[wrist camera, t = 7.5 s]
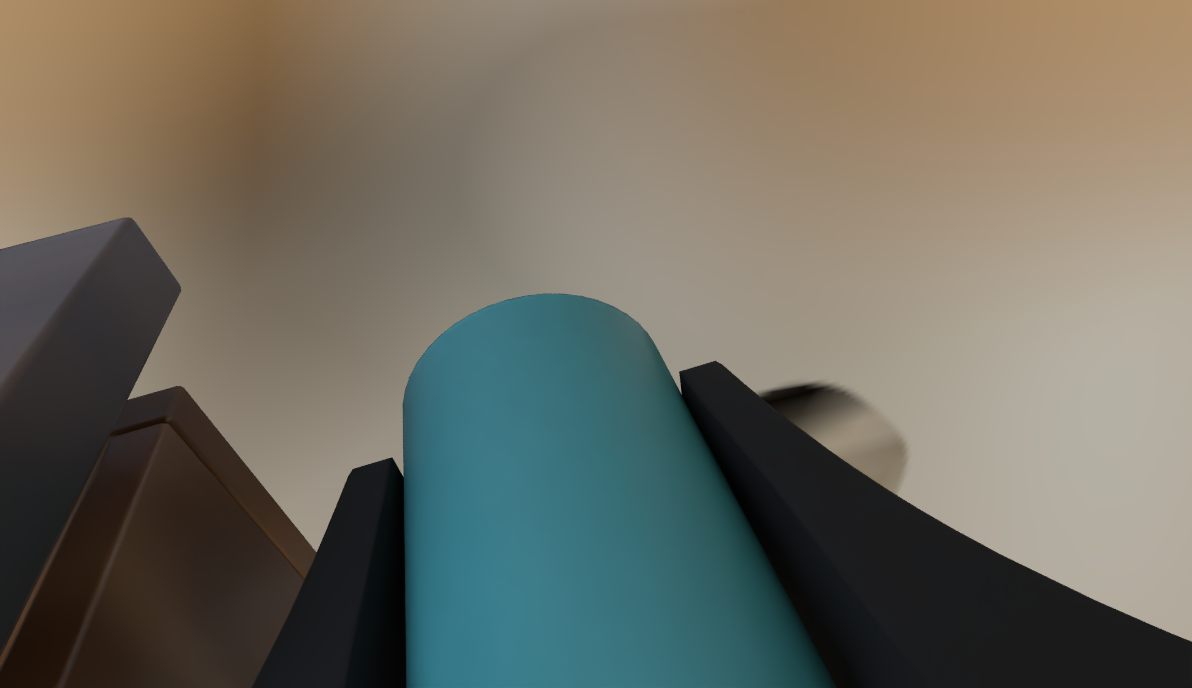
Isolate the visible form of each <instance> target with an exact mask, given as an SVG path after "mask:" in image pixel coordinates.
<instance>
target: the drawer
mask: <svg viewBox="0 0 1192 688" xmlns="http://www.w3.org/2000/svg"><path fill="white" fill-rule="evenodd" d="M180 292H181V287H180V285H179V283H178V282H177V280H176V279H175V277H174V276H173V275H172V273H171V272H170V271H169V269H168V268H167V266H166V265H165V263H164V262H163V261H162V259H161V258H160V256H159V255H158V253H157V252H156V251H155V249H154V248H153V246H152V245H151V244H150V242H149V241H148V239H147V238H146V237H145V235H144V234H143V232H142V231H141V229H140V228H139V227H138V225H137V224H136V222H135V221H134V220H133V219H132V218H121V219H117V220H113V221H109V222H106V223H102V224H98V225H94V226H90V227H86V228H82V229H78V230H74V231H71V232H66V233H62V234H59V235H55V236H51V237H47V238H43V239H39V240H35V241H31V242H27V243H23V244H19V245H15V246H12V247H8V248H4V249H0V688H251V687H252V685H253V684H254V682H255V680H256V678H257V676H258V674H259V672H260V670H261V668H262V666H263V664H264V662H265V660H266V658H267V656H268V654H269V652H270V650H271V648H272V647H273V645H274V643H275V641H276V639H277V637H278V635H279V633H280V631H281V629H282V627H283V625H284V623H285V621H286V619H287V617H288V615H289V613H290V610H291V608H292V606H293V604H294V602H295V600H296V597H297V595H298V593H299V591H300V589H301V586H302V584H303V582H304V580H305V578H306V575H307V573H308V571H309V569H310V567H311V565H312V562H313V560H314V558H315V556H316V551H315V550H314V549H313V548H312V546H311V545H310V544H309V543H308V542H307V540H306V539H305V538H304V536H303V535H302V534H301V533H300V531H299V530H298V529H297V528H296V527H295V525H294V524H293V523H292V522H291V520H290V519H289V518H288V517H287V515H286V514H285V513H284V512H283V510H282V509H281V508H280V507H279V505H278V504H277V503H276V502H275V500H274V499H273V498H272V497H271V495H270V494H269V493H268V492H267V491H266V489H265V488H264V487H263V486H262V484H261V483H260V482H259V481H258V479H257V478H256V477H255V476H254V474H253V473H252V472H251V471H250V469H249V468H248V467H247V466H246V465H245V463H244V462H243V461H242V460H241V458H240V457H239V456H238V455H237V453H236V452H235V451H234V450H233V448H232V447H231V446H230V445H229V443H228V442H227V441H226V440H225V438H224V437H223V436H222V435H221V433H220V432H219V431H218V430H217V428H216V427H215V426H214V425H213V424H212V422H211V421H210V420H209V419H208V417H207V416H206V415H205V414H204V412H203V411H202V410H201V409H200V407H199V406H198V405H197V404H196V402H195V401H194V400H193V399H192V398H191V396H190V395H189V394H188V392H187V391H186V390H185V389H184V388H183V387H181V386H176V387H172V388H169V389H165V390H161V391H158V392H154V393H151V394H147V395H144V396H140V397H137V398H133V399H129V400H127V399H128V397H129V395H130V393H131V391H132V389H133V387H134V385H135V383H136V381H137V379H138V377H139V375H140V373H141V371H142V369H143V367H144V365H145V363H146V361H147V359H148V357H149V355H150V352H151V351H152V349H153V346H154V344H155V342H156V340H157V338H158V336H159V334H160V332H161V330H162V328H163V326H164V324H165V322H166V320H167V318H168V316H169V314H170V312H171V310H172V308H173V306H174V304H175V302H176V300H177V298H178V296H179V293H180Z"/></svg>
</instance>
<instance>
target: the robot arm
mask: <svg viewBox="0 0 1192 688" xmlns="http://www.w3.org/2000/svg"><path fill="white" fill-rule="evenodd" d="M679 373H680V382H681V392H682V396H683V398H684V400H685V402H686V404H687V406H688V408H689V410H690V412H691V413H692V415H693V417H694V419H695V421H696V423H697V425H698V427H699V429H700V430H701V432H702V434H703V436H704V438H705V440H706V442H707V444H708V446H709V447H710V449H711V451H712V453H713V455H714V457H715V459H716V461H717V463H718V464H719V466H720V468H721V470H722V472H723V474H724V476H725V478H726V480H727V481H728V483H729V485H730V487H731V489H732V491H733V493H734V495H735V496H736V498H737V500H738V502H739V504H740V506H741V508H742V510H743V512H744V513H745V515H746V517H747V519H748V521H749V523H750V525H751V527H752V529H753V530H754V532H755V534H756V536H757V538H758V540H759V542H760V544H761V546H762V547H763V549H764V551H765V553H766V555H767V557H768V559H769V561H770V563H771V564H772V566H773V568H774V570H775V572H776V574H777V576H778V578H779V580H780V581H781V583H782V585H783V587H784V589H785V591H786V593H787V595H788V597H789V598H790V600H791V602H792V604H793V606H794V608H795V610H796V612H797V613H798V615H799V617H800V619H801V621H802V623H803V625H804V627H805V629H806V630H807V632H808V634H809V636H810V638H811V640H812V642H813V644H814V646H815V647H816V649H817V651H818V653H819V655H820V657H821V659H822V661H823V663H824V664H825V666H826V668H827V670H828V672H829V674H830V676H831V678H832V680H833V681H834V683H835V685H836V687H837V688H1192V642H1191V641H1189V640H1186V639H1183V638H1181V637H1179V636H1176V635H1174V634H1171V633H1169V632H1166V631H1164V630H1162V629H1159V628H1157V627H1155V626H1153V625H1150V624H1148V623H1146V622H1143V621H1141V620H1139V619H1137V618H1134V617H1132V616H1130V615H1128V614H1125V613H1123V612H1121V611H1118V610H1116V609H1114V608H1111V607H1109V606H1107V605H1105V604H1102V603H1100V602H1098V601H1095V600H1093V599H1091V598H1089V597H1087V596H1085V595H1083V594H1081V593H1079V592H1077V591H1075V590H1073V589H1071V588H1069V587H1067V586H1064V585H1062V584H1060V583H1058V582H1056V581H1054V580H1052V579H1050V578H1048V577H1046V576H1044V575H1042V574H1040V573H1038V572H1036V571H1033V570H1031V569H1029V568H1027V567H1025V566H1023V565H1021V564H1019V563H1017V562H1015V561H1013V560H1011V559H1008V558H1007V557H1004V556H1003V555H1001V554H999V553H997V552H995V551H993V550H991V549H989V548H988V547H986V546H984V545H982V544H980V543H978V542H977V541H975V540H973V539H971V538H969V537H967V536H965V535H964V534H961V533H960V532H958V531H956V530H954V529H953V528H951V527H949V526H947V525H946V524H943V523H942V522H940V521H939V520H937V519H935V518H934V517H932V516H930V515H928V514H927V513H925V512H923V511H921V510H920V509H918V508H916V507H915V506H913V505H911V504H910V503H908V502H907V501H905V500H903V499H902V498H900V497H898V496H897V495H895V494H894V493H892V492H891V491H889V490H887V489H886V488H884V487H883V486H881V485H880V484H878V483H877V482H875V481H874V480H872V479H871V478H869V477H868V476H866V475H865V474H863V473H862V472H860V471H859V470H857V469H856V468H854V467H853V466H851V465H850V464H848V463H847V462H845V461H844V460H843V459H841V458H840V457H838V456H837V455H835V454H834V453H833V452H831V451H830V450H828V449H827V448H826V447H824V446H823V445H822V444H820V443H819V442H818V441H816V440H815V439H814V438H812V437H811V436H809V435H808V434H807V433H805V432H804V431H803V430H801V429H800V428H799V427H797V426H796V425H795V424H793V423H792V422H791V421H790V420H788V419H787V418H786V417H784V416H783V415H782V414H781V413H779V412H778V411H777V410H776V409H774V408H773V407H772V406H771V405H769V404H768V403H767V402H766V401H764V400H763V399H762V398H761V397H759V396H758V395H757V394H756V393H755V392H753V391H752V390H751V389H750V388H749V387H747V386H746V385H745V384H744V383H743V382H741V381H740V380H739V379H738V378H737V377H736V376H735V375H733V374H732V373H731V372H730V371H729V370H728V369H727V368H725V367H724V366H723V365H722V364H720V363H718V362H717V361H713V362H710V363H707V364H703V365H700V366H697V367H694V368H690V369H687V370H683V371H680V372H679ZM251 688H406V618H405V539H404V477H403V475H402V474H401V472H400V470H399V468H398V467H397V465H396V463H395V461H394V460H393V458H388V459H385V460H382V461H378V462H375V463H372V464H368V465H365V466H361V467H358V468H355V469H353V470H352V471H351V473H350V475H349V476H348V478H347V481H346V483H345V486H344V488H343V491H342V493H341V496H340V498H339V501H338V503H337V506H336V508H335V510H334V513H333V515H332V518H331V520H330V523H329V525H328V528H327V530H326V532H325V534H324V537H323V539H322V542H321V544H320V546H319V549H318V551H317V553H316V556H315V558H314V560H313V562H312V565H311V567H310V569H309V571H308V573H307V575H306V578H305V580H304V582H303V584H302V586H301V589H300V591H299V593H298V595H297V597H296V600H295V602H294V604H293V606H292V608H291V610H290V613H289V615H288V617H287V619H286V621H285V623H284V625H283V627H282V629H281V631H280V633H279V635H278V637H277V639H276V641H275V643H274V645H273V647H272V648H271V650H270V652H269V654H268V656H267V658H266V660H265V662H264V664H263V666H262V668H261V670H260V672H259V674H258V676H257V678H256V680H255V682H254V684H253V685H252V687H251Z"/></svg>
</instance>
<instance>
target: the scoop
mask: <svg viewBox="0 0 1192 688" xmlns="http://www.w3.org/2000/svg"><path fill="white" fill-rule="evenodd" d="M403 457H404V458H403V459H404V539H405V618H406V688H837V687H836V685H835V683H834V681H833V680H832V678H831V676H830V674H829V672H828V670H827V668H826V666H825V664H824V663H823V661H822V659H821V657H820V655H819V653H818V651H817V649H816V647H815V646H814V644H813V642H812V640H811V638H810V636H809V634H808V632H807V630H806V629H805V627H804V625H803V623H802V621H801V619H800V617H799V615H798V613H797V612H796V610H795V608H794V606H793V604H792V602H791V600H790V598H789V597H788V595H787V593H786V591H785V589H784V587H783V585H782V583H781V581H780V580H779V578H778V576H777V574H776V572H775V570H774V568H773V566H772V564H771V563H770V561H769V559H768V557H767V555H766V553H765V551H764V549H763V547H762V546H761V544H760V542H759V540H758V538H757V536H756V534H755V532H754V530H753V529H752V527H751V525H750V523H749V521H748V519H747V517H746V515H745V513H744V512H743V510H742V508H741V506H740V504H739V502H738V500H737V498H736V496H735V495H734V493H733V491H732V489H731V487H730V485H729V483H728V481H727V480H726V478H725V476H724V474H723V472H722V470H721V468H720V466H719V464H718V463H717V461H716V459H715V457H714V455H713V453H712V451H711V449H710V447H709V446H708V444H707V442H706V440H705V438H704V436H703V434H702V432H701V430H700V429H699V427H698V425H697V423H696V421H695V419H694V417H693V415H692V413H691V412H690V410H689V408H688V406H687V404H686V402H685V400H684V398H683V396H682V395H681V393H680V391H679V389H678V387H677V385H676V383H675V381H674V379H673V378H672V376H671V374H670V372H669V370H668V368H667V366H666V365H665V363H664V361H663V359H662V357H661V355H660V353H659V351H658V350H657V348H656V346H655V344H654V342H653V341H652V339H651V338H650V336H649V335H648V333H647V332H646V331H645V330H644V329H643V328H642V326H641V325H640V324H639V323H638V322H636V321H635V320H634V319H633V318H631V317H630V316H629V315H627V314H626V313H624V312H622V311H620V310H619V309H617V308H615V307H613V306H611V305H609V304H606V303H603V302H601V301H598V300H595V299H591V298H587V297H583V296H577V295H568V294H537V295H528V296H522V297H518V298H513V299H509V300H505V301H502V302H499V303H496V304H493V305H490V306H488V307H485V308H483V309H481V310H479V311H477V312H474V313H472V314H470V315H469V316H467V317H465V318H464V319H462V320H460V321H459V322H457V323H456V324H454V325H453V326H452V327H450V328H449V329H448V330H447V331H445V332H444V333H443V334H441V335H440V336H439V337H438V338H437V340H435V341H434V343H432V344H431V345H430V346H429V348H428V349H427V350H426V351H425V353H424V354H423V355H422V357H421V358H420V359H419V361H418V362H417V364H416V366H415V368H414V370H413V371H412V374H411V376H410V377H409V380H408V383H407V386H406V389H405V394H404V401H403Z"/></svg>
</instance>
